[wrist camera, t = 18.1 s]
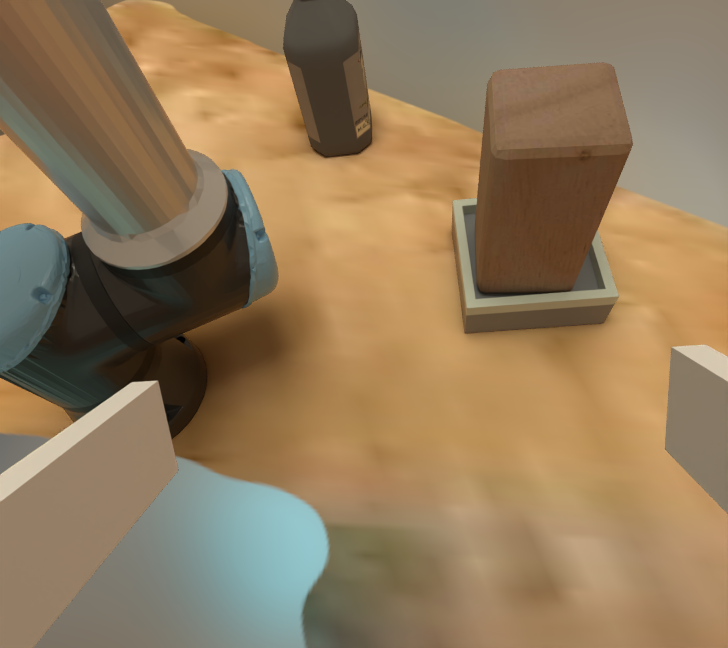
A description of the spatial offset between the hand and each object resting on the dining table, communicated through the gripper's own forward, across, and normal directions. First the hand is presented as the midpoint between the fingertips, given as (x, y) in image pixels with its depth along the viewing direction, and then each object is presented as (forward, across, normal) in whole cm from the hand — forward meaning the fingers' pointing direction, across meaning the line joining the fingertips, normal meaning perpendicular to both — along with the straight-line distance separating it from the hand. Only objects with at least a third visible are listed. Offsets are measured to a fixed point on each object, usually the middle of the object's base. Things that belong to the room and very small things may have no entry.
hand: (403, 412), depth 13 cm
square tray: (+48, +13, -6) cm, 50 cm away
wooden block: (+44, +12, -4) cm, 46 cm away
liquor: (+68, -9, +14) cm, 70 cm away
